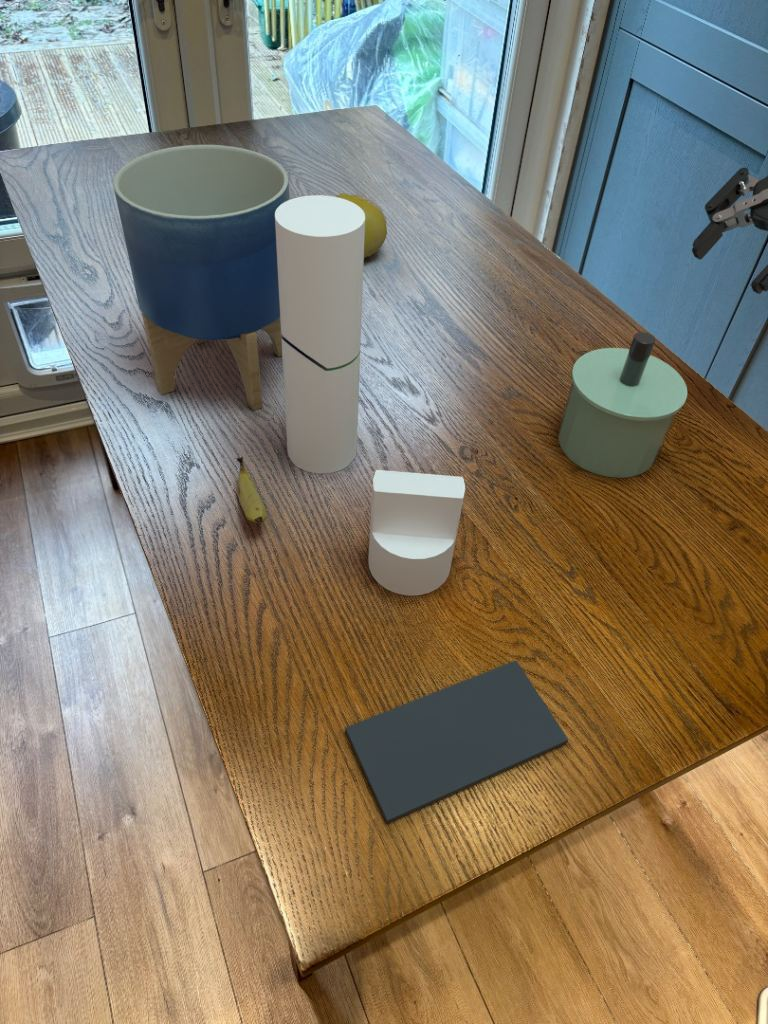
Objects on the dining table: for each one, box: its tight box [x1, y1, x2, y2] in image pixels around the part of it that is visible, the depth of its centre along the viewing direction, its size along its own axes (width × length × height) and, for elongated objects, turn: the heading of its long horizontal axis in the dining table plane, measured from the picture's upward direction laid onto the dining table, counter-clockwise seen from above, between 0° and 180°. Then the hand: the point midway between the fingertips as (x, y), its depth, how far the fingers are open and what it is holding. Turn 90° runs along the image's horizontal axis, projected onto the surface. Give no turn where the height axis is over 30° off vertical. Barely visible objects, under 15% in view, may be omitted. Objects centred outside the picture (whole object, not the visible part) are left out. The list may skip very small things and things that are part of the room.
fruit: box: [334, 192, 388, 259], centre depth 124 cm, size 10×11×10 cm
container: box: [275, 194, 365, 475], centre depth 82 cm, size 9×9×30 cm
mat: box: [344, 660, 569, 824], centre depth 67 cm, size 18×9×1 cm, turn 115°
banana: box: [236, 456, 267, 524], centre depth 84 cm, size 10×2×4 cm, turn 19°
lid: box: [571, 331, 688, 421], centre depth 88 cm, size 14×14×7 cm
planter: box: [112, 144, 290, 411], centre depth 93 cm, size 19×19×26 cm
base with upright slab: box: [367, 469, 466, 597], centre depth 77 cm, size 9×9×12 cm
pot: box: [557, 381, 677, 479], centre depth 93 cm, size 13×13×10 cm
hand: (724, 272), depth 85 cm, fingers open, 8 cm apart
